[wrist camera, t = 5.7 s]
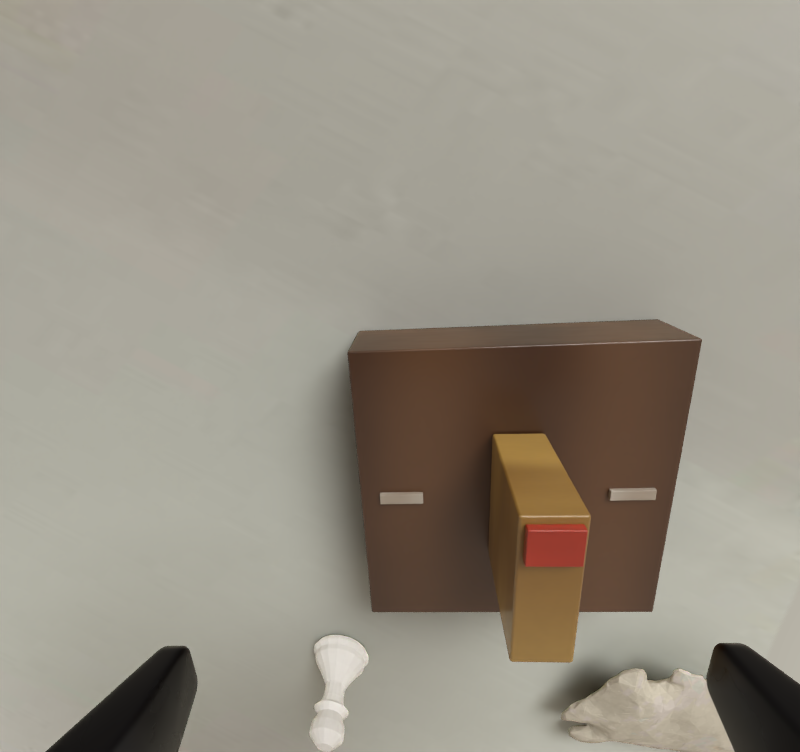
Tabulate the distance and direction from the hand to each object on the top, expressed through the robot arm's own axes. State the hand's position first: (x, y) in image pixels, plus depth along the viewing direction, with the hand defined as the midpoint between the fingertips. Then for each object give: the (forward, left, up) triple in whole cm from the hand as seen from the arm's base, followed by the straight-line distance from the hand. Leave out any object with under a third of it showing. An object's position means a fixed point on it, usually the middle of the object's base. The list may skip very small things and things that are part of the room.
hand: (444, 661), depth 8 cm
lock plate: (+3, -1, -9) cm, 10 cm away
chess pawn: (-4, -11, -10) cm, 16 cm away
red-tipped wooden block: (+3, -1, -7) cm, 7 cm away
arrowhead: (+6, -12, -8) cm, 16 cm away
